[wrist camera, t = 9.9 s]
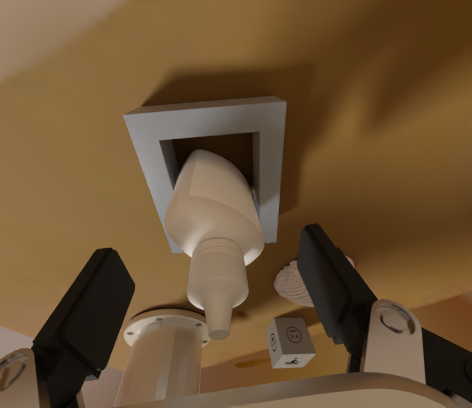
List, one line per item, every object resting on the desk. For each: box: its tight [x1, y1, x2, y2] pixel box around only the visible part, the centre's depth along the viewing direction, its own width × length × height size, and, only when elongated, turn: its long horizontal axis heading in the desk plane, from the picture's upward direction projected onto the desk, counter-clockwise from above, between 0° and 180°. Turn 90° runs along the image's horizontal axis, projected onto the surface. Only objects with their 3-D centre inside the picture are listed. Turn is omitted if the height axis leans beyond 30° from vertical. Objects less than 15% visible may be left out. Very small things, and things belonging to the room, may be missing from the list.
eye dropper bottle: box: [164, 149, 264, 340], centre depth 11 cm, size 4×6×12 cm
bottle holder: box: [123, 96, 287, 253], centre depth 15 cm, size 11×9×3 cm
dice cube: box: [266, 318, 316, 368], centre depth 31 cm, size 5×5×5 cm
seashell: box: [274, 255, 355, 307], centre depth 24 cm, size 10×6×10 cm
